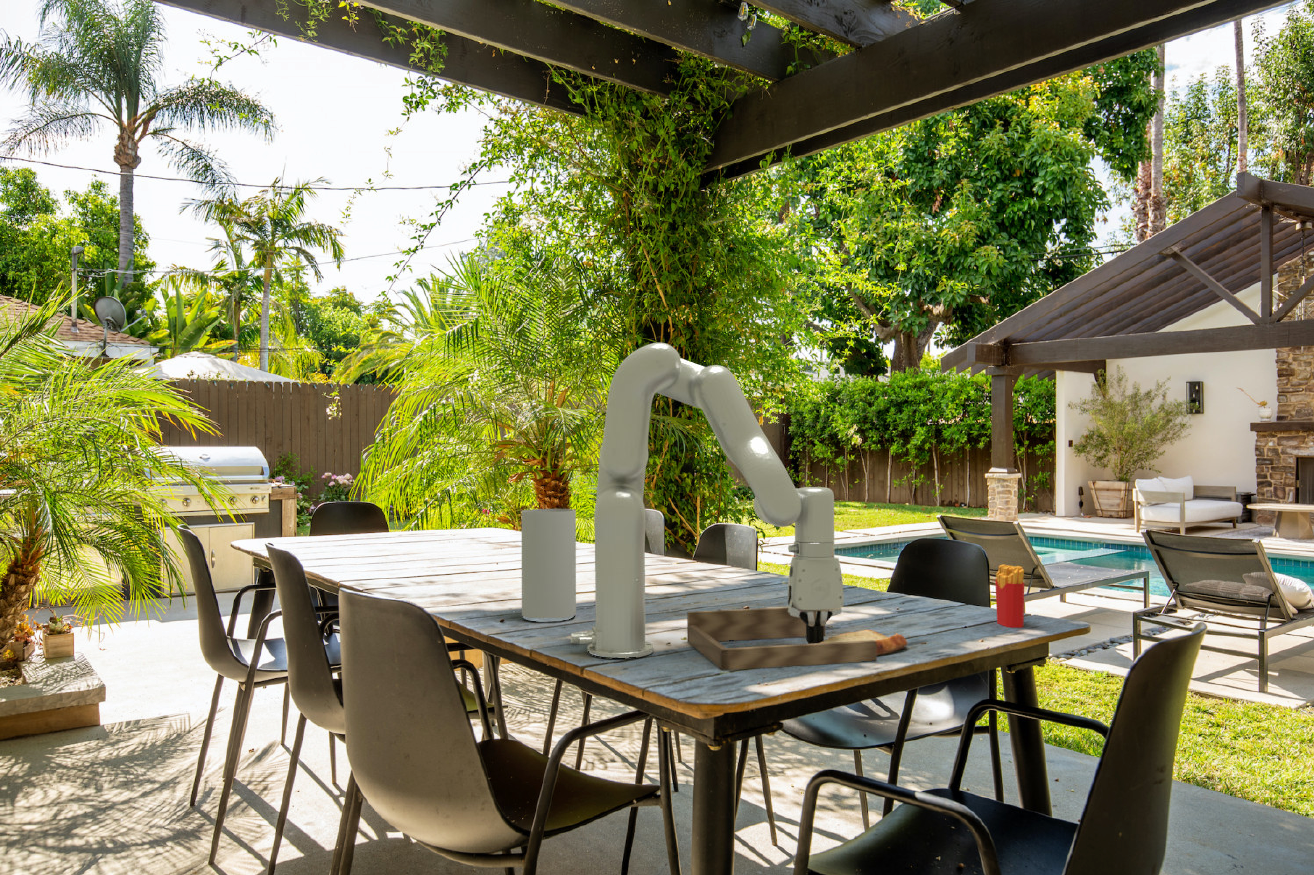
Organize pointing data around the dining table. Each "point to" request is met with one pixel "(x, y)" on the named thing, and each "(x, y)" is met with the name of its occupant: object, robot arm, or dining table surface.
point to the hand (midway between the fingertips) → (814, 645)
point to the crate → (766, 625)
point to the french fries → (1010, 596)
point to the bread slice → (882, 642)
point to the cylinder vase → (548, 563)
